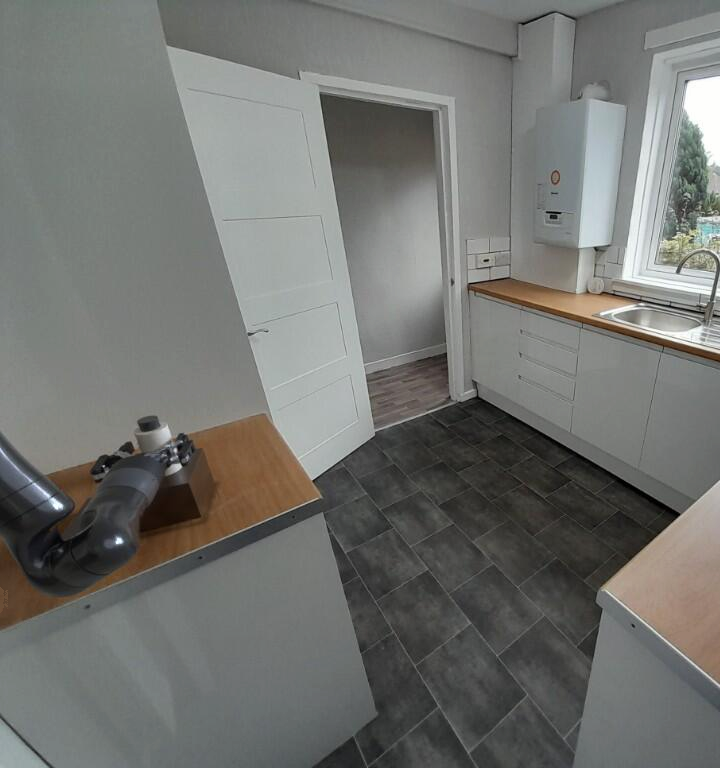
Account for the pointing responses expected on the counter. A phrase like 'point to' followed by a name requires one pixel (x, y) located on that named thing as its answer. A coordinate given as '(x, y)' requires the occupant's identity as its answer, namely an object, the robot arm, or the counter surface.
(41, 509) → the robot arm
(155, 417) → the white bottle
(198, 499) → the stepped wooden block
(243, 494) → the counter surface
